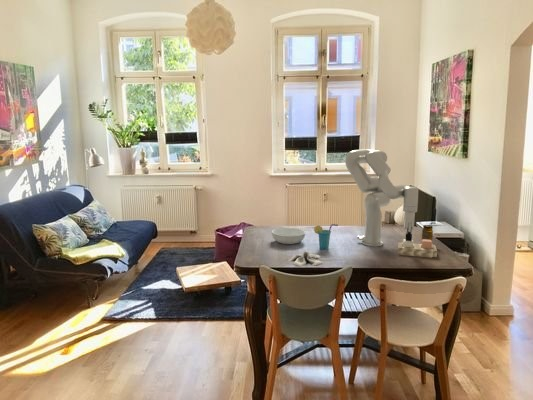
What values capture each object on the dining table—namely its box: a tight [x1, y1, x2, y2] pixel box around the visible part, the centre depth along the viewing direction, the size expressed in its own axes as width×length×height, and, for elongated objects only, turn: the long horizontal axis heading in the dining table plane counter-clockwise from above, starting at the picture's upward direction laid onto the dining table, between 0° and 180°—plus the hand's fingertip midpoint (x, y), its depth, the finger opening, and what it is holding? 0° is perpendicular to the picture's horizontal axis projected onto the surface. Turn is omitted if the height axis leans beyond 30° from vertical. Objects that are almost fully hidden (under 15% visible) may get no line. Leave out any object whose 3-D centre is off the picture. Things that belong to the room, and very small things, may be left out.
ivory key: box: [402, 238, 414, 247], centre depth 240 cm, size 5×5×6 cm
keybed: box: [397, 241, 438, 259], centre depth 239 cm, size 20×12×4 cm, turn 74°
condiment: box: [418, 224, 434, 245], centre depth 254 cm, size 7×8×12 cm
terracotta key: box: [421, 239, 433, 249], centre depth 237 cm, size 5×5×6 cm
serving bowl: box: [271, 227, 306, 245], centre depth 261 cm, size 21×21×7 cm
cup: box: [313, 223, 339, 251], centre depth 246 cm, size 14×8×15 cm, turn 97°
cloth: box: [287, 250, 324, 267], centre depth 226 cm, size 22×19×6 cm
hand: (408, 240), depth 239 cm, fingers closed
